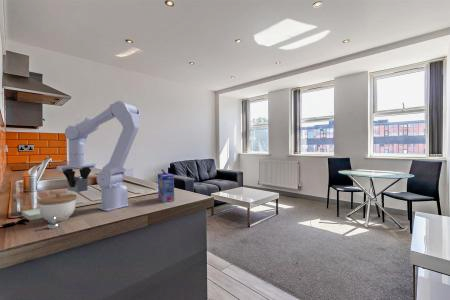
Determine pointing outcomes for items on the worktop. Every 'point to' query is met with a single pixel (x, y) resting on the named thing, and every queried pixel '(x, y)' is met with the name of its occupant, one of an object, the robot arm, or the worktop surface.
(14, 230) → the worktop surface
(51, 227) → the bolt
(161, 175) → the blue juice carton
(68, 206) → the lidded jar
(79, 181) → the housing
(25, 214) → the stand
